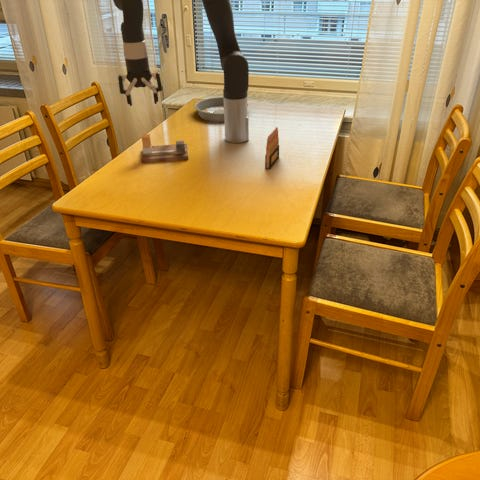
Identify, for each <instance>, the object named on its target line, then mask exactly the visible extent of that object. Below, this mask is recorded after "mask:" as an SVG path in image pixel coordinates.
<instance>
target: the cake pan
mask: <svg viewBox="0 0 480 480" xmlns="http://www.w3.org/2000/svg"><path fill="white" fill-rule="evenodd" d="M211 107H212V108H218V107H220V108H221V107H224V99H223V96H216V97H209V98H208V97H207V98H204V99H201V100H199V101H197V102H196V103H195V104H194V109H195V110H196V111H197V113H198V114H197V115H198V117H199V116H200V117H201V119H202V120H204V119H205V121H208V120H209V121H208V122H218V123H219V122H220V123H222V122H224V109H218V110H217V109H215V111H214V110H213V111H214V112H213V113H210V112H204V111H202V110H205V111H206V110H208V109H212V108H211ZM247 107H249V103H248V102H247ZM207 108H208V109H207ZM200 117H199V118H200Z"/></svg>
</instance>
